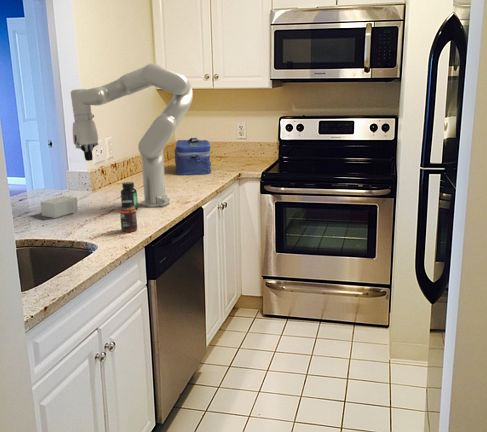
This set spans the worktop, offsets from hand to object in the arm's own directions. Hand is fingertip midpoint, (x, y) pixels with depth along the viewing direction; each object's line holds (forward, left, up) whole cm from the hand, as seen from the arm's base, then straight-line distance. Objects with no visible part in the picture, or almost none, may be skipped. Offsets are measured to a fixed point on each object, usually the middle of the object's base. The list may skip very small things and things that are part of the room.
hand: (89, 160), depth 246 cm
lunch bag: (+32, -90, -21) cm, 98 cm away
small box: (0, +11, -18) cm, 21 cm away
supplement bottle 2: (-46, +14, -21) cm, 53 cm away
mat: (+1, +20, -21) cm, 29 cm away
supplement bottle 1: (-19, -6, -21) cm, 29 cm away
